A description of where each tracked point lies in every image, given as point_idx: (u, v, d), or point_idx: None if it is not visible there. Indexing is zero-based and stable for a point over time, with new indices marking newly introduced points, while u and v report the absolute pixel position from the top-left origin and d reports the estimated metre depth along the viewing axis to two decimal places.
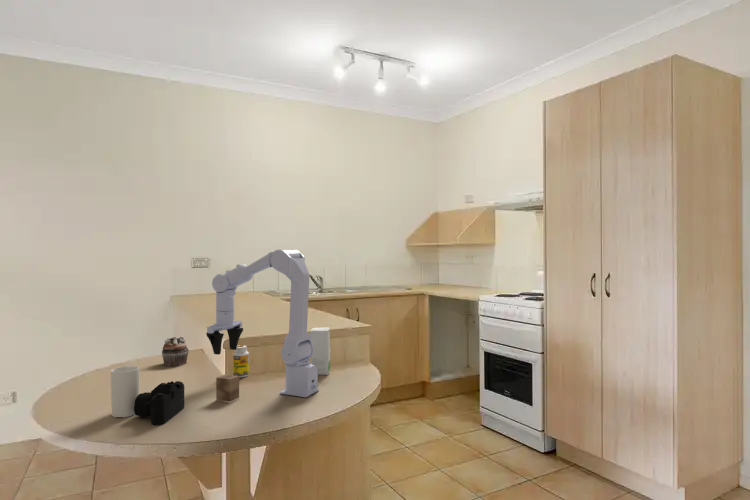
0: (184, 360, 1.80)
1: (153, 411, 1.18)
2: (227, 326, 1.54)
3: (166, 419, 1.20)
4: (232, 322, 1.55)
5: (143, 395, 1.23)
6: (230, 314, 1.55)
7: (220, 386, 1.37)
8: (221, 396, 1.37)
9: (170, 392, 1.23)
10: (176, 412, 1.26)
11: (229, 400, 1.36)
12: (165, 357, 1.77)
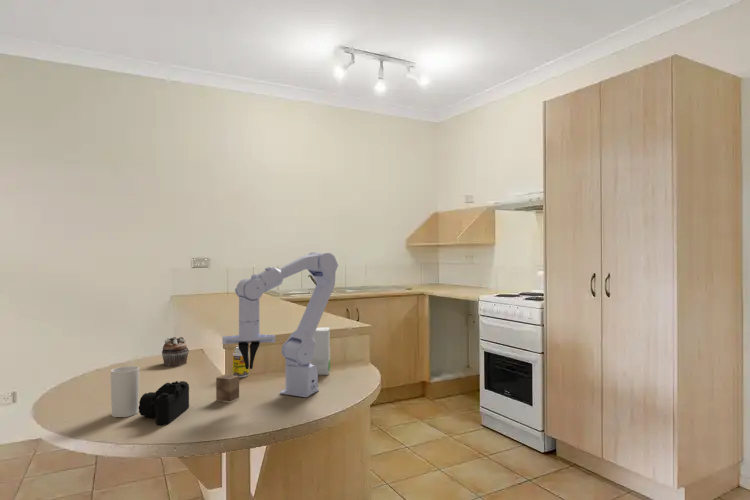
0: (184, 360, 1.80)
1: (157, 411, 1.18)
2: (241, 339, 1.33)
3: (171, 419, 1.20)
4: (249, 335, 1.33)
5: (148, 395, 1.24)
6: (245, 326, 1.33)
7: (220, 386, 1.37)
8: (221, 396, 1.37)
9: (175, 392, 1.23)
10: (181, 412, 1.26)
11: (229, 400, 1.36)
12: (165, 357, 1.77)
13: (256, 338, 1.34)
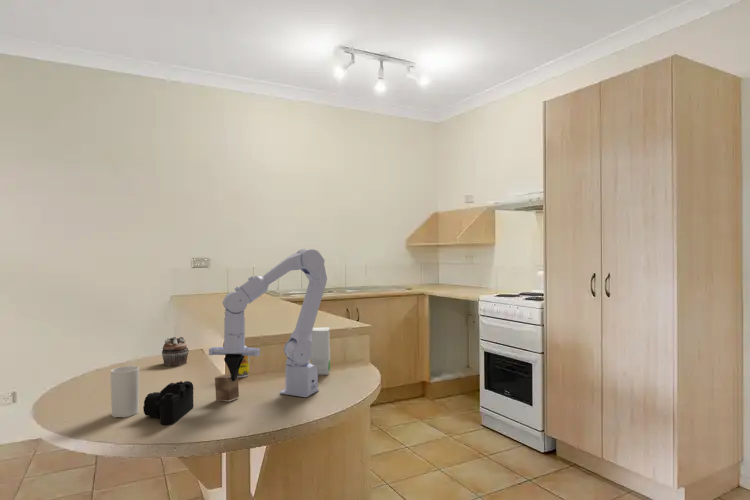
0: (184, 360, 1.80)
1: (162, 411, 1.18)
2: (224, 351, 1.35)
3: (175, 419, 1.20)
4: (231, 348, 1.35)
5: (152, 395, 1.24)
6: (228, 338, 1.35)
7: (219, 386, 1.37)
8: (220, 396, 1.37)
9: (179, 392, 1.23)
10: (185, 412, 1.26)
11: (228, 399, 1.36)
12: (165, 357, 1.77)
13: (238, 351, 1.35)
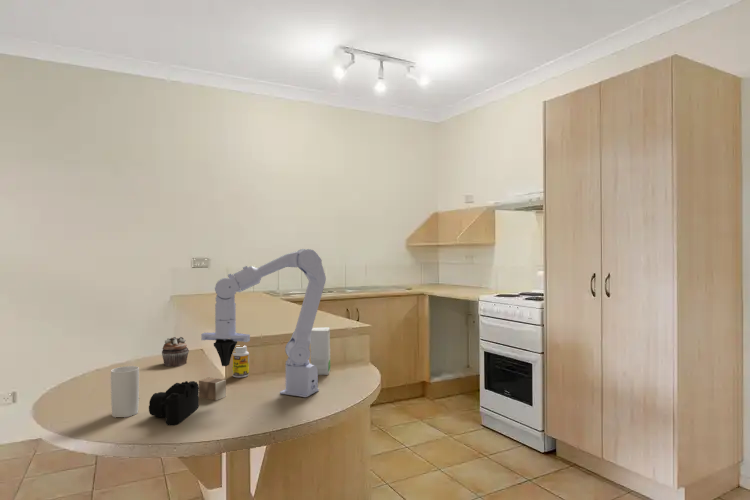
0: (184, 360, 1.80)
1: (167, 411, 1.18)
2: (215, 336, 1.37)
3: (180, 419, 1.20)
4: (221, 333, 1.36)
5: (158, 395, 1.24)
6: (218, 324, 1.36)
7: (205, 393, 1.40)
8: (212, 393, 1.38)
9: (185, 392, 1.23)
10: (190, 412, 1.26)
11: (214, 383, 1.38)
12: (165, 357, 1.77)
13: (228, 336, 1.36)
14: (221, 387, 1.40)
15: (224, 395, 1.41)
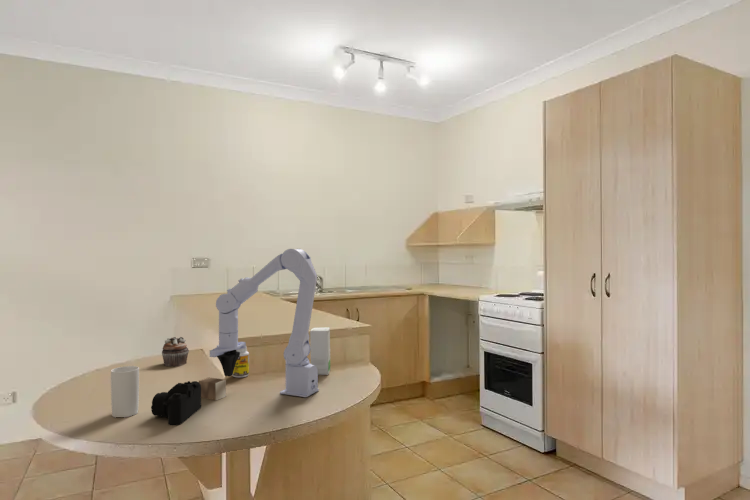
0: (184, 360, 1.80)
1: (170, 411, 1.18)
2: (231, 349, 1.45)
3: (183, 419, 1.20)
4: (236, 344, 1.47)
5: (160, 395, 1.24)
6: (234, 336, 1.46)
7: (205, 393, 1.40)
8: (212, 393, 1.38)
9: (187, 392, 1.23)
10: (193, 412, 1.26)
11: (214, 383, 1.38)
12: (165, 357, 1.77)
13: (239, 346, 1.49)
14: (221, 387, 1.40)
15: (224, 395, 1.41)
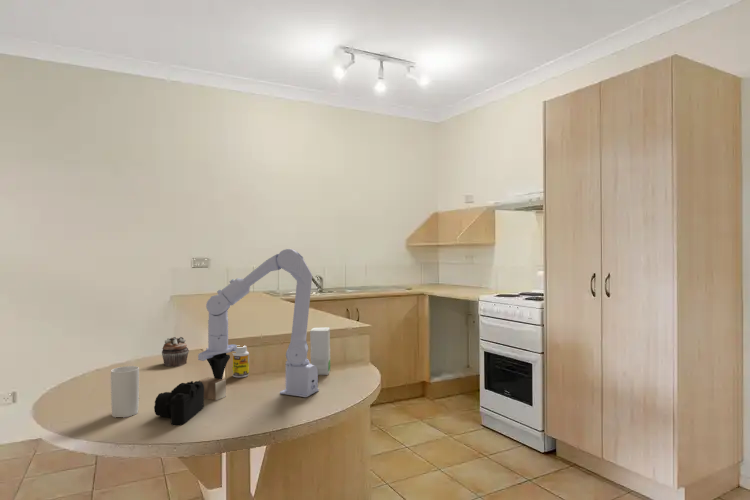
0: (184, 360, 1.80)
1: (173, 411, 1.18)
2: (220, 352, 1.41)
3: (186, 419, 1.20)
4: (226, 347, 1.42)
5: (163, 395, 1.24)
6: (224, 339, 1.42)
7: (205, 393, 1.40)
8: (212, 393, 1.38)
9: (190, 392, 1.23)
10: (196, 412, 1.26)
11: (214, 383, 1.38)
12: (165, 357, 1.77)
13: (229, 349, 1.44)
14: (221, 387, 1.40)
15: (224, 395, 1.41)
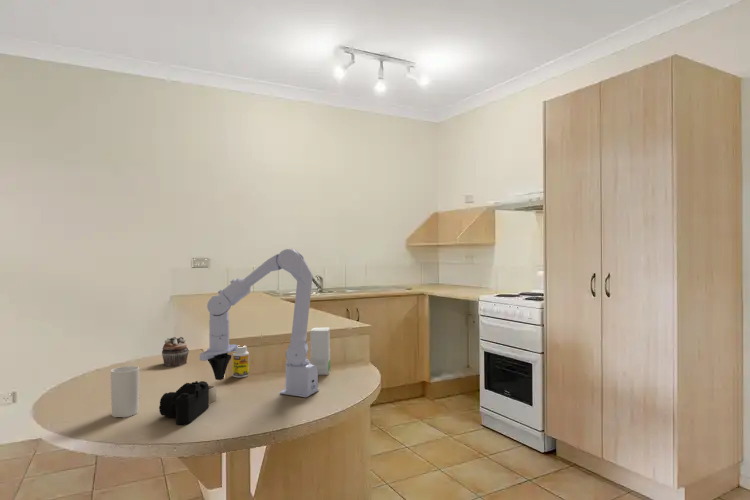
0: (184, 360, 1.80)
1: (178, 411, 1.18)
2: (221, 352, 1.41)
3: (191, 419, 1.20)
4: (227, 347, 1.43)
5: (168, 395, 1.24)
6: (225, 339, 1.42)
7: None
8: None
9: (195, 392, 1.23)
10: (200, 412, 1.26)
11: None
12: (165, 357, 1.77)
13: (230, 349, 1.45)
14: None
15: (215, 389, 1.37)
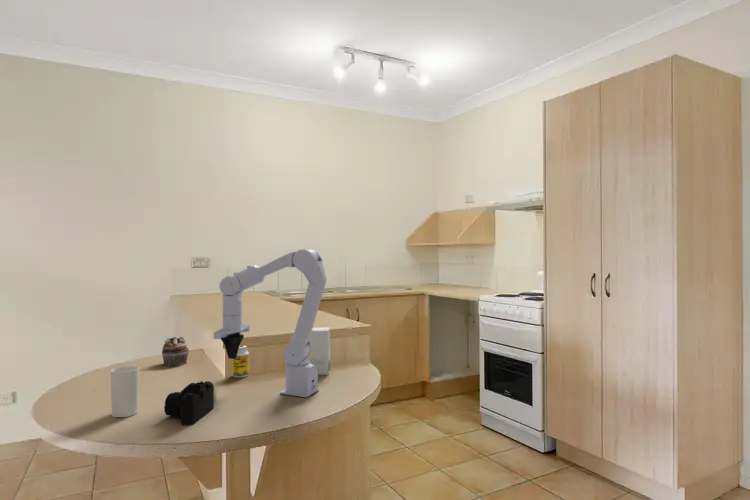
0: (184, 360, 1.80)
1: (182, 411, 1.18)
2: (234, 331, 1.45)
3: (195, 419, 1.20)
4: (240, 327, 1.47)
5: (173, 395, 1.24)
6: (238, 318, 1.46)
7: None
8: None
9: (200, 392, 1.23)
10: (205, 412, 1.26)
11: None
12: (165, 357, 1.77)
13: (243, 329, 1.49)
14: None
15: (215, 389, 1.37)
